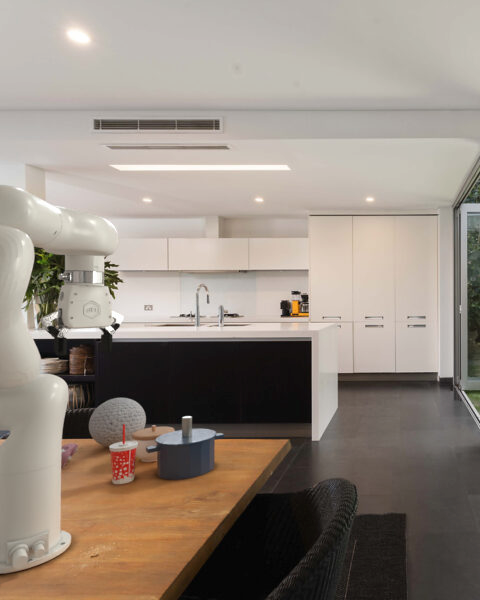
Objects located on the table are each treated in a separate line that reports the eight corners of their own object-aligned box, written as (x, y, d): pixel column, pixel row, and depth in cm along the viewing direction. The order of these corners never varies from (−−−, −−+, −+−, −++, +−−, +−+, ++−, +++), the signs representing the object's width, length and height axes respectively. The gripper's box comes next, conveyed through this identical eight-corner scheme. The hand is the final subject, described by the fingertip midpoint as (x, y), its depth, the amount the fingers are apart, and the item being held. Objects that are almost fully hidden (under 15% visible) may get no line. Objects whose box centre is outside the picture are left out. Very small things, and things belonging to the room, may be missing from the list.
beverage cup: (129, 474, 116) (129, 420, 116) (142, 478, 113) (143, 423, 113) (103, 482, 111) (104, 425, 111) (116, 487, 108) (117, 429, 108)
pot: (232, 467, 121) (232, 436, 121) (154, 487, 108) (154, 451, 108) (213, 455, 131) (213, 426, 131) (139, 471, 118) (140, 439, 118)
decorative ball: (139, 436, 150) (139, 391, 150) (151, 446, 139) (151, 398, 139) (85, 446, 140) (85, 397, 140) (92, 457, 129) (93, 405, 129)
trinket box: (182, 453, 133) (182, 421, 133) (158, 465, 122) (159, 431, 123) (148, 451, 134) (148, 420, 134) (122, 464, 124) (122, 430, 124)
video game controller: (58, 478, 118) (73, 452, 119) (39, 472, 116) (54, 446, 117) (70, 465, 127) (84, 442, 128) (53, 460, 125) (67, 436, 127)
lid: (225, 440, 119) (225, 417, 119) (165, 452, 109) (165, 427, 109) (205, 429, 130) (205, 408, 130) (149, 439, 120) (149, 416, 120)
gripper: (51, 277, 95) (50, 358, 95) (131, 281, 111) (131, 350, 111) (32, 278, 99) (32, 356, 99) (113, 281, 114) (112, 348, 114)
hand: (84, 352), depth 105 cm, fingers open, 9 cm apart
